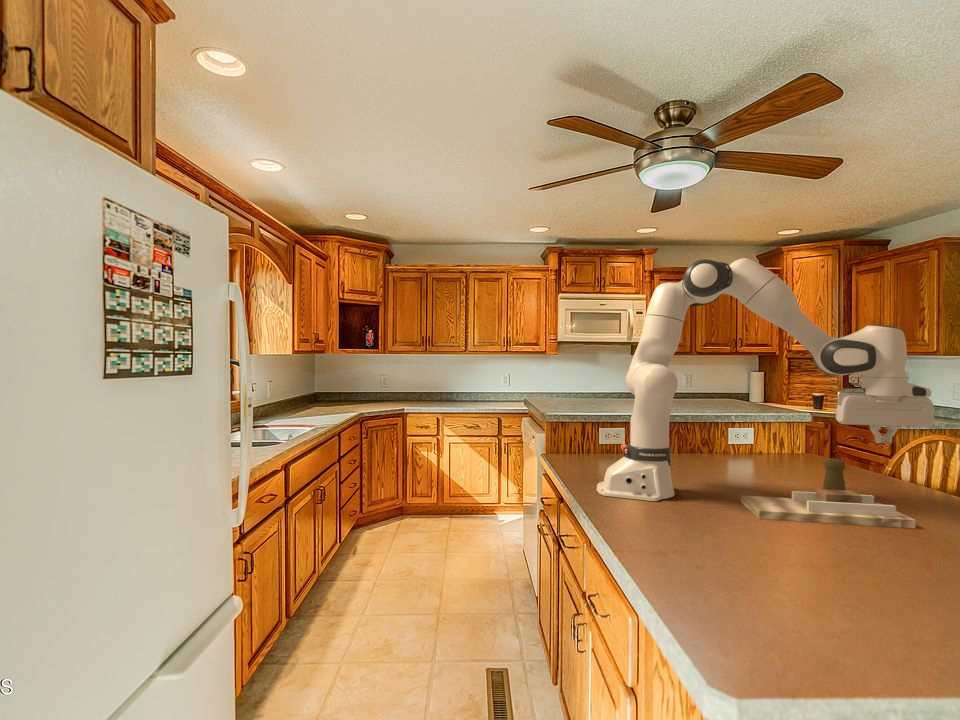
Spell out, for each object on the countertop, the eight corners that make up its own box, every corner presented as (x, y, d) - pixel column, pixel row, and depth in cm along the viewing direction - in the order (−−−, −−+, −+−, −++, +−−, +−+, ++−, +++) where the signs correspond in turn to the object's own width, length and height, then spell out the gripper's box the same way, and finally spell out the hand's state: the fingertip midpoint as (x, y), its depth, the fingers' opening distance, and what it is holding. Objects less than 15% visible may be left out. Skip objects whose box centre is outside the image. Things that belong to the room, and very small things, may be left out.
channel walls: (808, 511, 122) (808, 501, 122) (791, 500, 132) (791, 491, 132) (895, 516, 118) (895, 506, 118) (871, 504, 128) (871, 495, 128)
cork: (838, 493, 146) (838, 457, 146) (852, 499, 140) (852, 461, 140) (817, 493, 146) (817, 456, 146) (829, 498, 140) (829, 460, 140)
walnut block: (826, 509, 123) (826, 494, 123) (816, 504, 128) (816, 488, 128) (861, 511, 122) (861, 496, 122) (851, 506, 127) (851, 490, 127)
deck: (759, 518, 122) (759, 510, 122) (741, 502, 136) (741, 495, 136) (915, 528, 115) (915, 520, 115) (880, 510, 129) (880, 503, 129)
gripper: (843, 388, 122) (843, 443, 122) (939, 390, 118) (938, 446, 118) (831, 387, 128) (830, 439, 128) (921, 388, 124) (921, 442, 124)
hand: (883, 443), depth 123 cm, fingers closed
